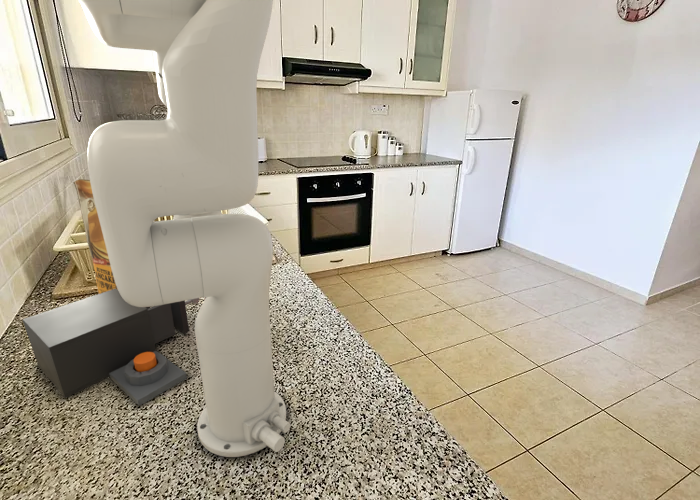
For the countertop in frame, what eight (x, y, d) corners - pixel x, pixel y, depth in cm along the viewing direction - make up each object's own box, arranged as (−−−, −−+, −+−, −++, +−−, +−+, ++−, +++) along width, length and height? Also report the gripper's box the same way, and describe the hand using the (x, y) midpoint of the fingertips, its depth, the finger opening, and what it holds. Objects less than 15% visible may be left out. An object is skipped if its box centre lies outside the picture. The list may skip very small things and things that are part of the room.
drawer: (178, 305, 85) (173, 274, 82) (208, 322, 78) (204, 289, 76) (91, 341, 71) (81, 305, 69) (118, 365, 65) (108, 327, 62)
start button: (160, 365, 63) (158, 356, 62) (141, 375, 60) (139, 366, 60) (150, 357, 65) (149, 349, 64) (131, 367, 62) (129, 358, 62)
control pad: (187, 378, 64) (184, 364, 63) (139, 406, 58) (135, 390, 57) (157, 355, 69) (154, 342, 68) (110, 378, 63) (106, 364, 62)
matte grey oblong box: (125, 329, 77) (115, 288, 73) (156, 353, 70) (147, 308, 66) (38, 366, 66) (22, 319, 62) (65, 398, 59) (48, 347, 55)
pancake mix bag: (114, 287, 94) (87, 176, 84) (168, 304, 87) (147, 184, 77) (86, 299, 88) (55, 181, 78) (143, 318, 81) (116, 191, 71)
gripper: (170, 214, 68) (184, 301, 75) (237, 199, 80) (244, 276, 86) (149, 206, 72) (164, 290, 79) (216, 193, 84) (224, 268, 90)
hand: (206, 283), depth 83 cm, fingers closed
